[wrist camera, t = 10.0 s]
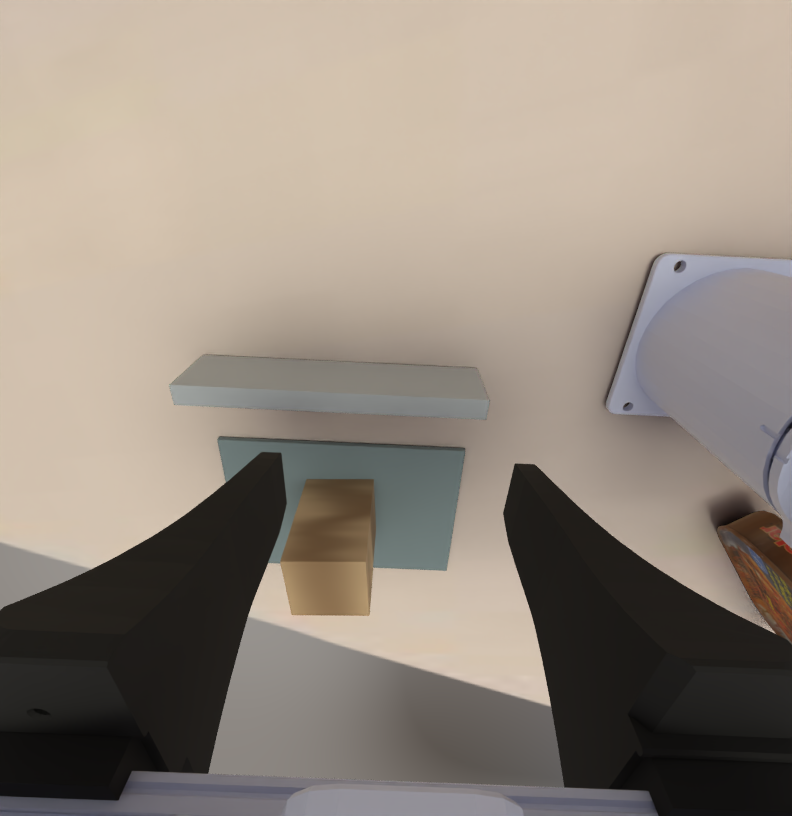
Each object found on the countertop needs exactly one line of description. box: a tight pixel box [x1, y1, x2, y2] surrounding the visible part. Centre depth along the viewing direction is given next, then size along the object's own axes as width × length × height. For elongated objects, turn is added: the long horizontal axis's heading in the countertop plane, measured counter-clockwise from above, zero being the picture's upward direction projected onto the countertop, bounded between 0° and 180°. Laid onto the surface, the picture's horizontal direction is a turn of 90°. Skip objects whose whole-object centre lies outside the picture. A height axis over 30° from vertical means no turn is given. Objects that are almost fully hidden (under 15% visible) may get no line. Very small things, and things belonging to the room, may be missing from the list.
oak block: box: [280, 479, 376, 616], centre depth 23 cm, size 4×4×6 cm
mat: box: [217, 437, 465, 571], centre depth 26 cm, size 14×10×1 cm
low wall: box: [169, 355, 490, 420], centre depth 20 cm, size 14×1×4 cm, turn 87°
